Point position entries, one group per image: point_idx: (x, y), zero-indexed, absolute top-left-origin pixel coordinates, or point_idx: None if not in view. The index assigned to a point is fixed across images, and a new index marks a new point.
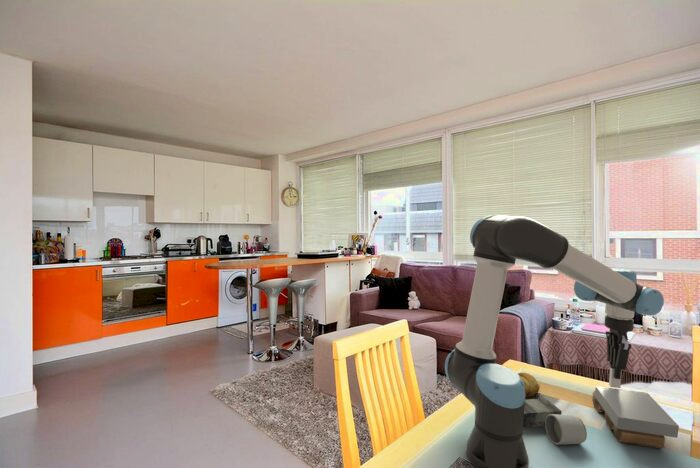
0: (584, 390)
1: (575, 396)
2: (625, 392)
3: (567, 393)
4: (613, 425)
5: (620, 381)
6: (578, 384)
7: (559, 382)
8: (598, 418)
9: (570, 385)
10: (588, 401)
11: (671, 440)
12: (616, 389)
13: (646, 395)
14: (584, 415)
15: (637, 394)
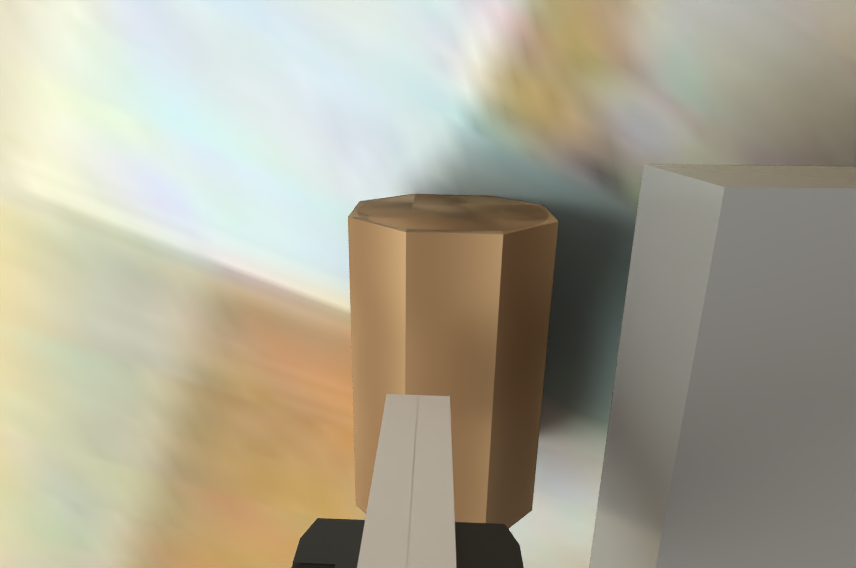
0: (117, 406)
1: (269, 506)
2: (741, 490)
3: (239, 544)
4: None
5: (449, 458)
6: (9, 415)
7: (51, 544)
8: (581, 465)
9: (68, 483)
10: (322, 443)
11: (830, 46)
12: (676, 565)
13: (807, 242)
14: (559, 537)
15: (787, 361)
